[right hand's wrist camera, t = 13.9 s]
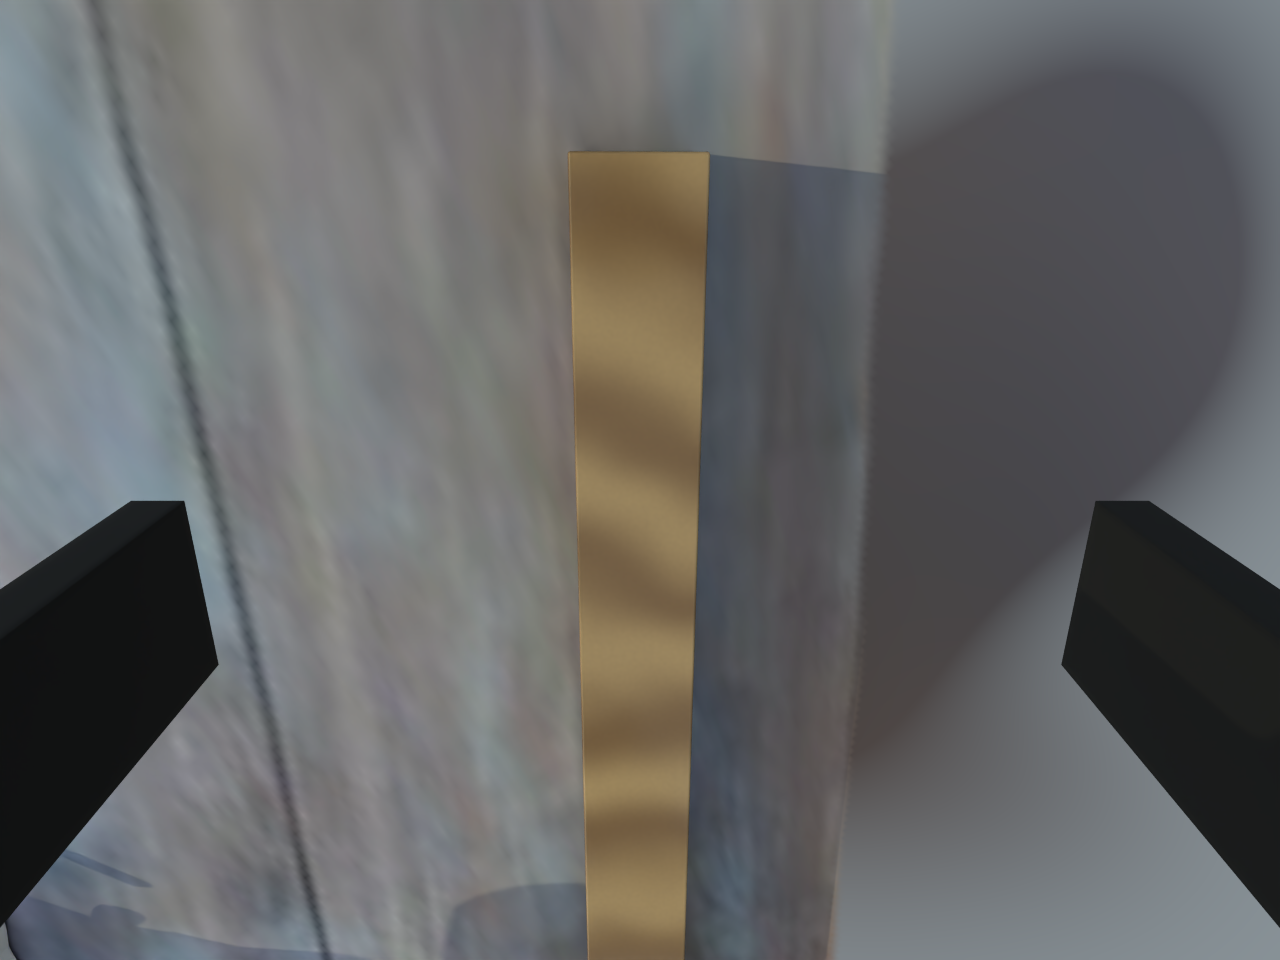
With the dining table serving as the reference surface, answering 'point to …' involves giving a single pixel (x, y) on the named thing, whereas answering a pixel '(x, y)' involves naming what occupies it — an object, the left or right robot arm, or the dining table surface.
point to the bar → (637, 529)
